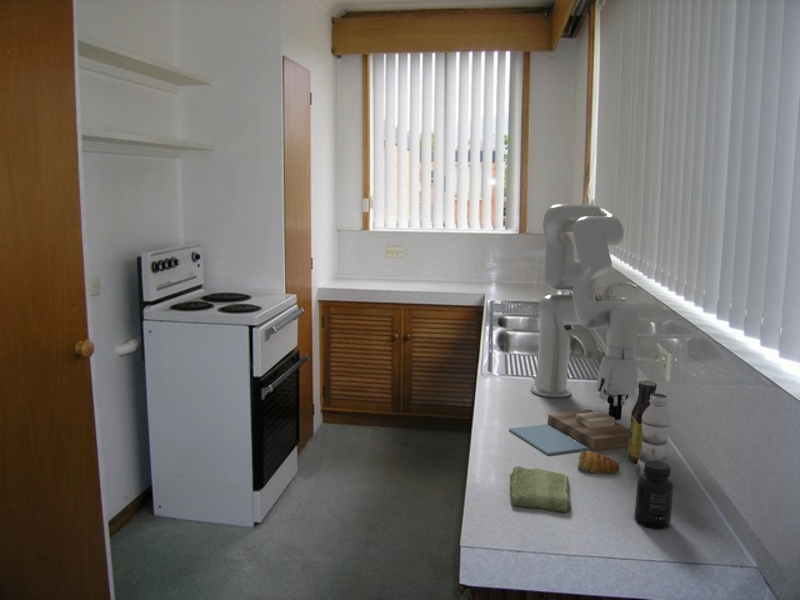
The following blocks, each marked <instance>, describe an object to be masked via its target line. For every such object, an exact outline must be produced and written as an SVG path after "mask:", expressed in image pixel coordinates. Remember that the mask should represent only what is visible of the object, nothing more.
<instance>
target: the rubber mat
mask: <svg viewBox="0 0 800 600" xmlns="http://www.w3.org/2000/svg"><path fill="white" fill-rule="evenodd" d="M508 432H510V433H512V434H513V435H515V436H516V435H517V436H516V437H518V438H520V439H521V438H522V439H521V440H523V441H524V440H525V441H524V442H526V443H527V442H528V443H527V444H529V445H531V446H532V447H534V448H535V449H537V450H539V451H540V452H542V453H543V454H544V455H546V456H553V455H560V454H561V455H562V454H567V453H575V452H576V453H577V452H581V451H588V450H589V448H588V447H586V446H584V445H583V444H581V443H579V442H577V441H575V440H574V439H572V438H570V437H568V436H567V435H565V434H563V433H561V432H560V431H558V430H556V429H554V428H553V427H551V426H549V425H548V423H547V424H537V425H528V426H520V427H511V428H510V427H509V428H508Z"/></svg>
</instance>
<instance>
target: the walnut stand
mask: <svg viewBox="0 0 800 600" xmlns="http://www.w3.org/2000/svg"><path fill="white" fill-rule="evenodd" d="M590 412H595V411H593V410H591V409H584V410H575V411H566V412H559V413H549V414H548V416H547V425H549V426H551V427H553V428H554V429H556V430H558V431H560V432H561V433H563V434H565V435H567V436H569V437H571V438H572V439H574V440H576V441H577V442H579V443H581V444H583V445H584V446H586V447H588V450H591V451H593V452H597V451H602V450H610V449H616V448H623V447H628V446H629V434H630V428H628V427H626V426H624V425H622V424H620V423H618V422H616V421H615V425H614V426H606V427H598V428H588V427H586V426H584V425H582V424H580V423H579V422H577V421H576V414H581V413H590Z"/></svg>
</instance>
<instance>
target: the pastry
mask: <svg viewBox="0 0 800 600" xmlns="http://www.w3.org/2000/svg"><path fill="white" fill-rule="evenodd" d="M578 460H579V461H578V464H577V468H578V469H580V470H582V472H591V473H593V474H602V475H603V474H606V475H611V474H616V473H618V472H619V471H620V464H619V463H620V462H618V461H616V460H615V459H613V458H611V457H609V456H606V455H604V454H600V453H598V452H597V451H595V452H594V451H593V452H592V451H588V450H587V451H585V450H583V451H579V456H578Z"/></svg>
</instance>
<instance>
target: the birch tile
mask: <svg viewBox="0 0 800 600" xmlns="http://www.w3.org/2000/svg"><path fill="white" fill-rule="evenodd" d="M576 421H577V422H579V423H580V424H582V425H584V426H586V427H588V428H598V427H606V426H614V425H615V422H616V420H615V418H614V417H612V416H609V414H607V413H605V412H603V411H601V410H600V411H598V410H597V411H594V412H590V413H581V414H576Z"/></svg>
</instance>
